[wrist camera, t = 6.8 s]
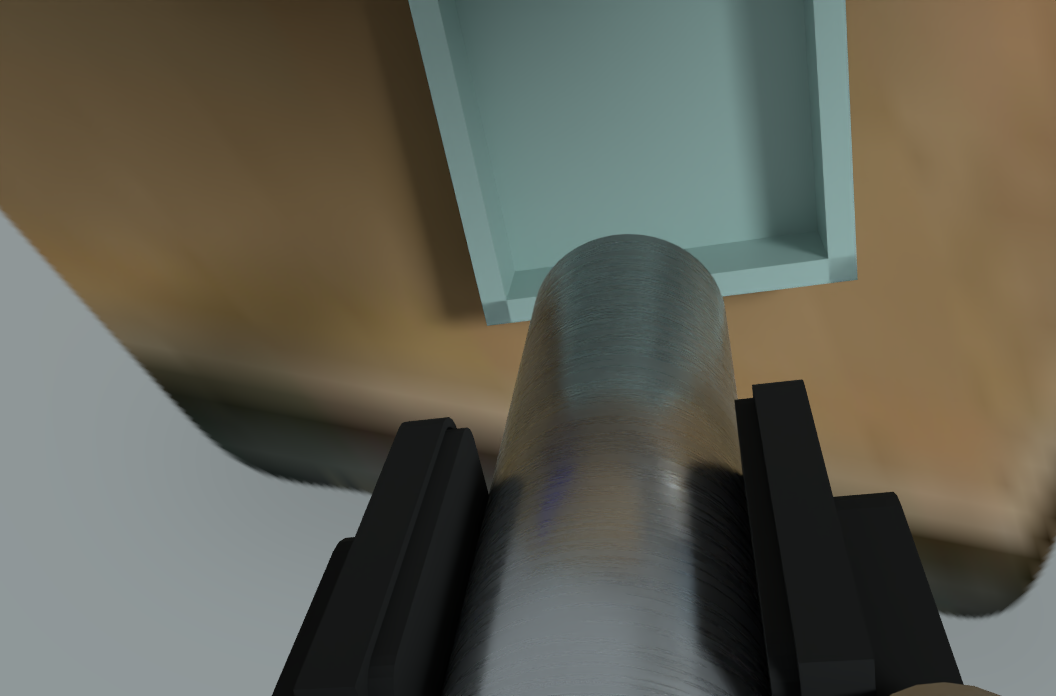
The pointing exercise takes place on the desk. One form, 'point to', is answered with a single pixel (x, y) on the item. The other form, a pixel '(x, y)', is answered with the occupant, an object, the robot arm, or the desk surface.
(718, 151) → the tray
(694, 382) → the flashlight
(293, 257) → the desk surface
